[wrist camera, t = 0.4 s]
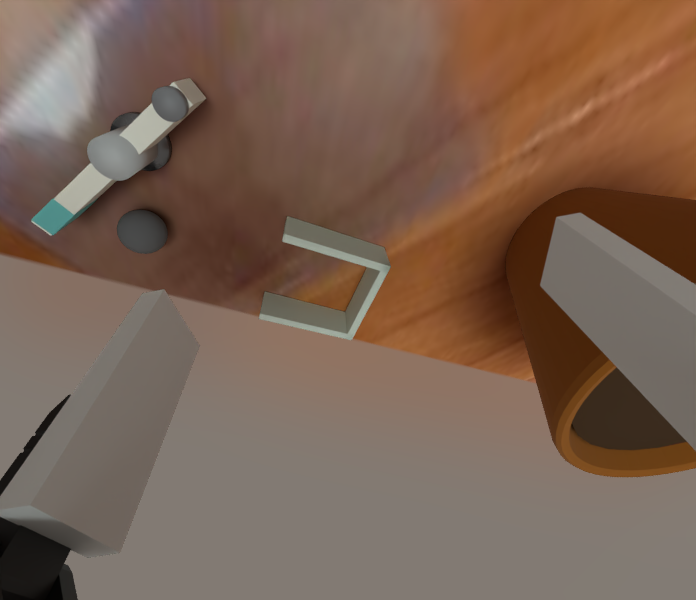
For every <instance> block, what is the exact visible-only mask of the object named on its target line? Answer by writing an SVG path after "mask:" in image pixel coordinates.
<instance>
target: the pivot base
mask: <svg viewBox="0 0 696 600" xmlns="http://www.w3.org/2000/svg"><path fill="white" fill-rule="evenodd" d="M140 114H141V113H138V112H129V113H126V114H123V115H120V116H119V117H117V118H116V119H115V120H114V122H113V123H112V126H111V130H110V131H113V130H115V129H118V128H120V127H122V126H125V125H128V124H131V123H132V122H133V121H134V120H135V119H136V118H137V117H138V116H139V115H140ZM157 144H158V156H157V158H156V159H155V160H154V161H153V162H151V163H150V164H148V165H147V166H145V167H144V168H143V169H141V170H146V171H153V170H157V169H159V168H161V167H162V166H164V165H165V164H166V163H167V162H168V161H169V159H170V156H171V152H172V147H171V142H170V139H169V136H168V134H167V135H166V136H165V137H164V138H163V139H162V140H161V141H160V142H158V143H157Z"/></svg>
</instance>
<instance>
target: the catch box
mask: <svg viewBox="0 0 696 600" xmlns="http://www.w3.org/2000/svg"><path fill="white" fill-rule="evenodd" d="M282 242H286V243H289V244H292V245H296V246H299V247H302V248H306V249H309V250H312V251H316V252H319V253H322V254H326V255H329V256H332V257H336V258H339V259H342V260H346V261H349V262H352V263H355V264H359V265H362V266H365V267H367V268H366V270H365V272H364V274H363V276H362V278H361V280H360V282H359V285H358V287H357V289H356V291H355V293H354V295H353V297H352V299H351V301H350V303H349V305H348V307H347V309H346V311H345V312H344V311H340V310H336V309H332V308H328V307H324V306H320V305H316V304H312V303H308V302H304V301H300V300H296V299H292V298H288V297H285V296H281V295H277V294H273V293H269V292H265V293H264V296H263V301H262V306H261V311H260V315H259V319H261V320H265V321H270V322H274V323H278V324H283V325H287V326H292V327H296V328H300V329H305V330H309V331H313V332H318V333H322V334H326V335H331V336H335V337H340V338H344V339H348V340H352V338H353V336H354V335H355V333H356V331H357V329H358V327H359V325H360V323H361V322H362V320H363V318H364V316H365V314H366V312H367V310H368V309H369V307H370V305H371V303H372V301H373V299H374V297H375V296H376V294H377V292H378V290H379V288H380V286H381V284H382V282H383V281H384V279H385V277H386V275H387V273H388V271H389V269H390V268H391V265H390V262H389V260H388V257H387V254H386V251H385V248H384V247H382V246H378V245H375V244H372V243H369V242H366V241H363V240H360V239H357V238H354V237H351V236H348V235H345V234H341V233H338V232H335V231H332V230H329V229H326V228H323V227H320V226H317V225H314V224H311V223H308V222H304V221H301V220H298V219H295V218H292V217H289V216H287V219H286V222H285V227H284V233H283V239H282Z"/></svg>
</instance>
